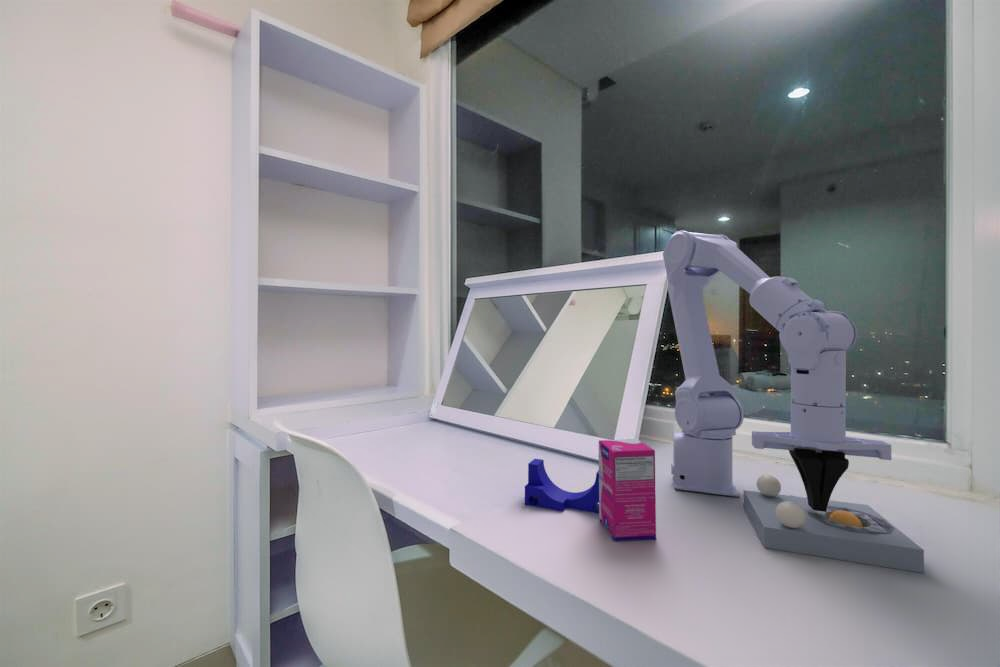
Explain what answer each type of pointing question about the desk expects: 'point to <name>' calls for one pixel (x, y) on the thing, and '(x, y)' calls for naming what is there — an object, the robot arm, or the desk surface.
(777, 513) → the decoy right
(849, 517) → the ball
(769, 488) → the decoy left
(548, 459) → the desk surface
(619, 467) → the supplement box
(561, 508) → the blue curved bracket
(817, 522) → the grey socket plate
